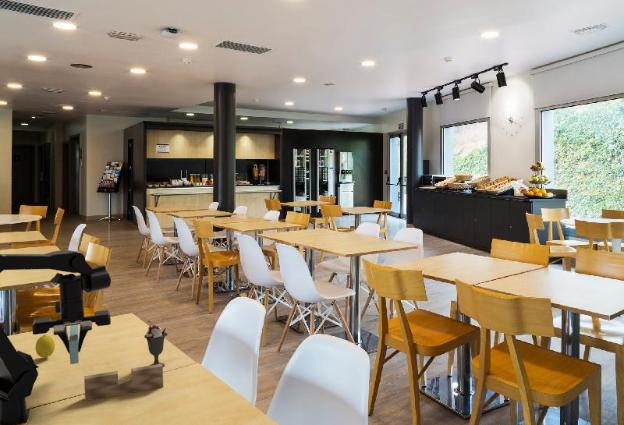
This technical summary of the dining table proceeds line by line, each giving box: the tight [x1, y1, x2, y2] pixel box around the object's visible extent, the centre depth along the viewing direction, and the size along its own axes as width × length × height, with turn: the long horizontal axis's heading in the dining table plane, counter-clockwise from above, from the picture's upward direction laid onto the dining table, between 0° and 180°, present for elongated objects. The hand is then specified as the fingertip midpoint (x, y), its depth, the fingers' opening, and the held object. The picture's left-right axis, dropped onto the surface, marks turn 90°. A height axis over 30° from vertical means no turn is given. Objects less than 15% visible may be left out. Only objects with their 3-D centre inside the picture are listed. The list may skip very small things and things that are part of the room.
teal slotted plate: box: [68, 321, 80, 365], centre depth 136 cm, size 20×2×6 cm, turn 26°
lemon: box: [35, 334, 56, 360], centre depth 156 cm, size 6×6×8 cm
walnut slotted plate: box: [83, 364, 164, 402], centre depth 133 cm, size 20×2×6 cm, turn 114°
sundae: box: [143, 320, 168, 368], centre depth 149 cm, size 7×7×15 cm
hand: (74, 352), depth 131 cm, fingers closed on teal slotted plate, 2 cm apart
